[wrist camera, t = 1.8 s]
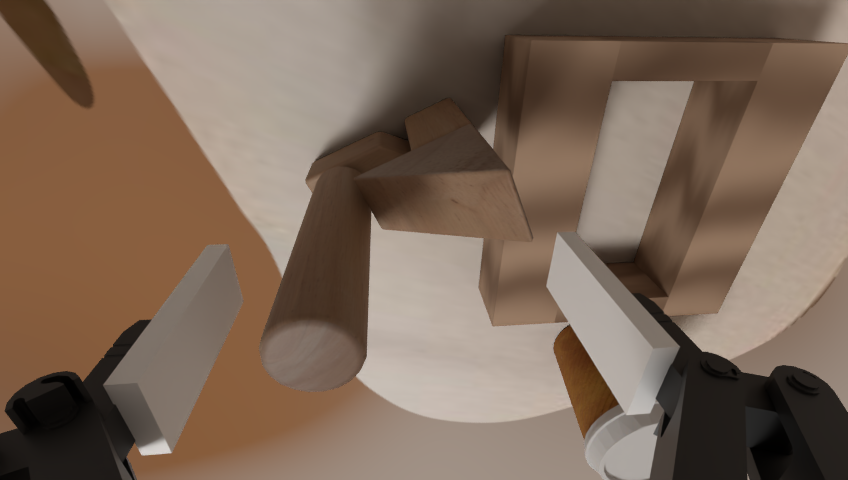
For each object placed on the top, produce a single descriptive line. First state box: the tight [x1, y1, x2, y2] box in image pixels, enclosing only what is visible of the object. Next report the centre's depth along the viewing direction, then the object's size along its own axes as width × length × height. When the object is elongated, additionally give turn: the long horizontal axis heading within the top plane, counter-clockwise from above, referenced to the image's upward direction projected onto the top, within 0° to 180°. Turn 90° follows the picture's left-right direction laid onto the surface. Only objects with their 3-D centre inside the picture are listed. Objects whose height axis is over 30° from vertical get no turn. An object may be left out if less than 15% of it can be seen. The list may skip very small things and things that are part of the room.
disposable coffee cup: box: [554, 325, 664, 480], centre depth 35 cm, size 10×10×12 cm
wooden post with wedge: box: [259, 98, 533, 392], centre depth 21 cm, size 4×11×18 cm, turn 114°
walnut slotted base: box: [479, 35, 848, 326], centre depth 29 cm, size 20×19×5 cm
